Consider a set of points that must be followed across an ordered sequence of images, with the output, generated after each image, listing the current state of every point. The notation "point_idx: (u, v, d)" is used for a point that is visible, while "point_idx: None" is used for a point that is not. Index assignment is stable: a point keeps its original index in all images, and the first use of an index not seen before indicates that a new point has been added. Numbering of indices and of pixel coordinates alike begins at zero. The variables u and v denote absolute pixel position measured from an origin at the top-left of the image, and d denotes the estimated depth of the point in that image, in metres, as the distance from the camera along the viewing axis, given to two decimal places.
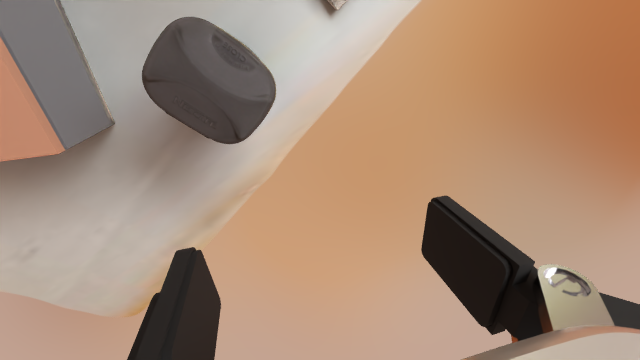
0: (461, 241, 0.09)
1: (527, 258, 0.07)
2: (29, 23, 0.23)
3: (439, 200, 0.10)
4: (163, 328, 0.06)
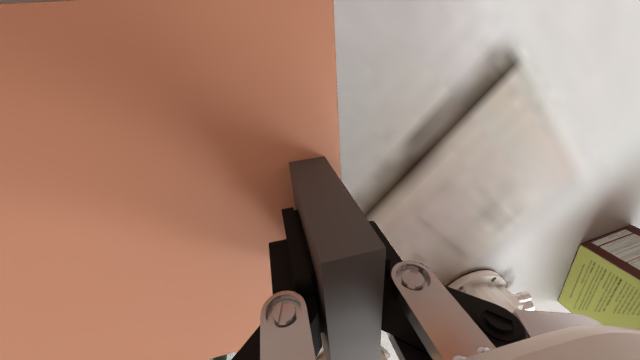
0: None
1: None
2: None
3: None
4: (302, 257, 0.08)
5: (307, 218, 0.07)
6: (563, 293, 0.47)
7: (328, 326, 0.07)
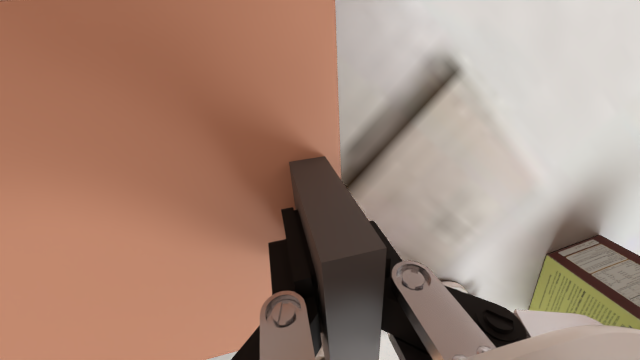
0: None
1: None
2: None
3: None
4: (302, 257, 0.08)
5: (307, 218, 0.07)
6: (533, 303, 0.46)
7: (328, 325, 0.07)
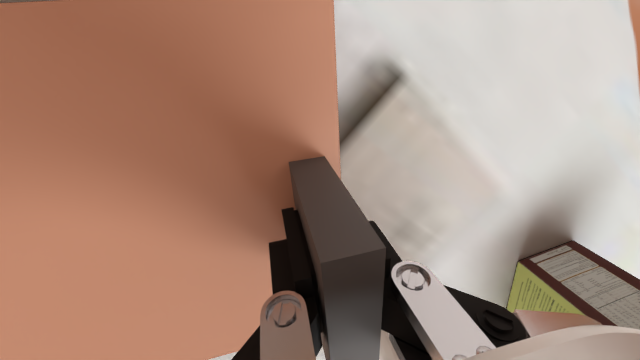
0: None
1: None
2: None
3: None
4: (302, 257, 0.08)
5: (307, 218, 0.07)
6: (508, 310, 0.45)
7: (327, 326, 0.07)
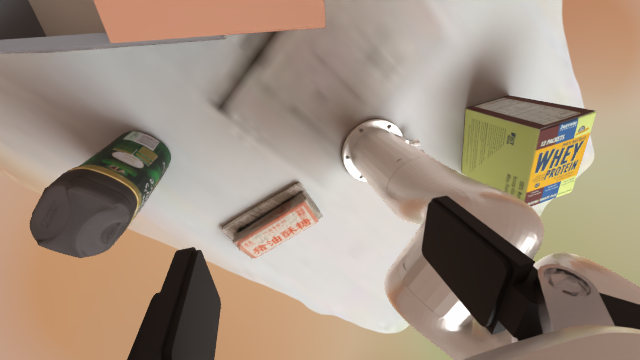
0: (461, 241, 0.09)
1: (527, 258, 0.07)
2: (121, 44, 0.30)
3: (439, 200, 0.10)
4: (163, 328, 0.06)
5: None
6: (463, 162, 0.57)
7: None
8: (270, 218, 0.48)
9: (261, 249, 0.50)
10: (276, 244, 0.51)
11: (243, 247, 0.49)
